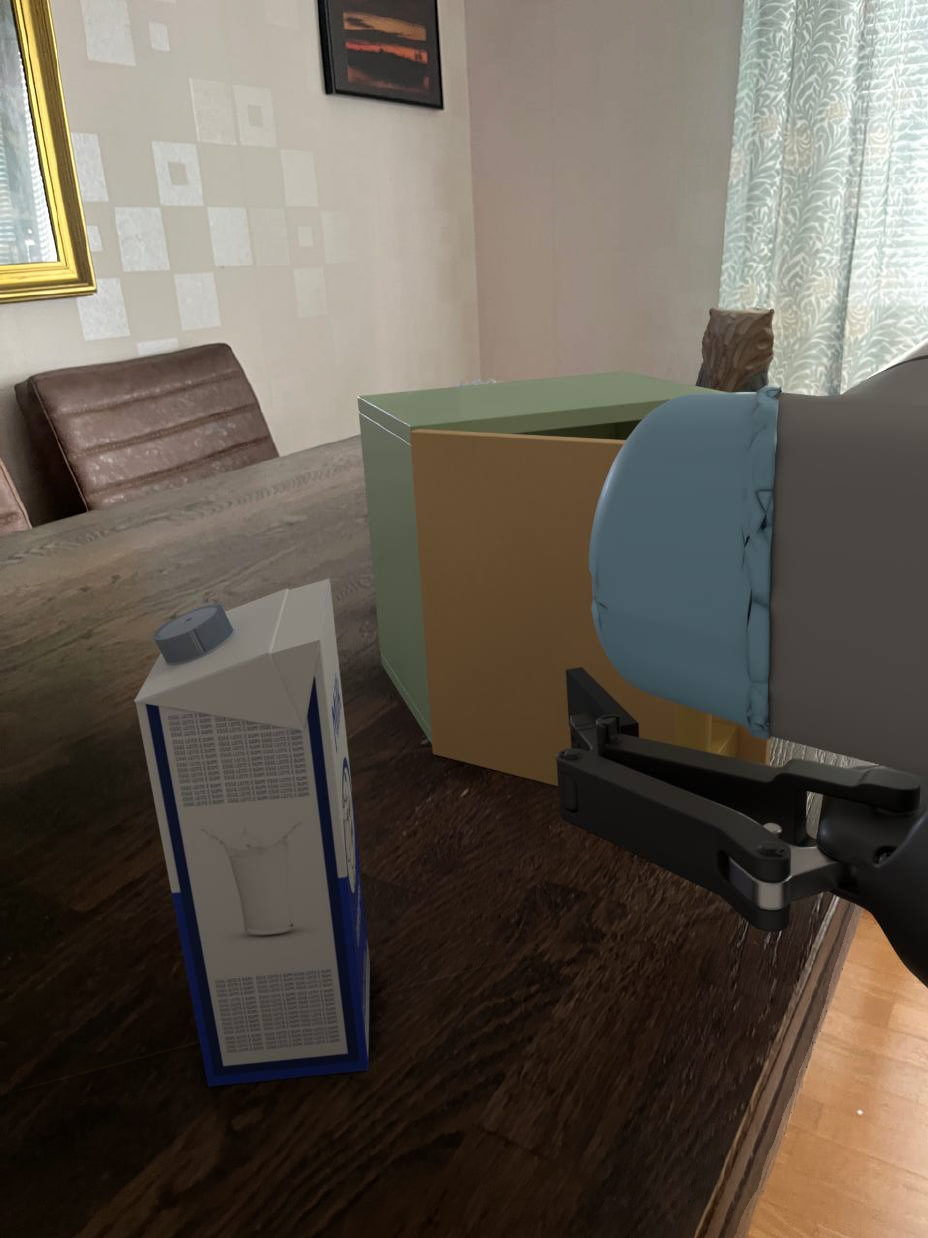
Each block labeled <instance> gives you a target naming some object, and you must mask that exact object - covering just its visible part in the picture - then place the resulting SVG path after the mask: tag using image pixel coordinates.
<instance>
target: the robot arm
mask: <svg viewBox="0 0 928 1238" xmlns="http://www.w3.org/2000/svg"><path fill="white" fill-rule="evenodd" d="M589 571H590V572H591V574H592V591H593V602H592V607H591V610H592V616H593V620H594V625H595V628H596V631H597V635H598V638H599V641H600V643H601V645H602V647H603V649H604V651H605V653H606V656H607V657H608V659H609V660H610V662H611V663H612V665H613V666H614V667H615V669H616V670H617V671H618V673H619V674H620V675H621V676H622V677H623V678H625V679H626V680H627V681H628V682H629V683H630V684H632V685H633V686H634V687H636V688H638V689H640V690H642V691H644V692H646V693H648V694H650V695H653V696H656V697H659V698H662V699H665V700H668V701H671V702H674V703H677V704H680V705H683V706H686V707H689V708H692V709H695V710H698V711H701V712H704V713H707V714H710V715H713V716H716V717H719V718H722V719H725V720H728V721H731V722H734V723H737V724H740V725H743V726H745V727H746V729H747V730H748V731H749V732H750V733H751V734H752V735H753V736H754V737H758V738H763V739H768V740H770V738H771V739H772V738H775V739H779V740H783V741H787V742H791V743H794V744H799V745H801V746H802V745H803V746H806V747H809V748H812V749H813V748H814V749H817V750H821V751H825V752H828V753H832V754H835V755H840V756H844V757H848V758H852V759H854V760H855V759H856V760H858V761H863V762H867V763H871V764H872V765H871V764H870V765H855V766H850V767H845V766H839V765H835V764H829V763H825V762H820V761H815V760H811V759H805V758H800V757H793V758H790V759H789V760H788V761H787V762H786V763H785V764H784V765H783V766H775V765H771V764H770V765H766V764H761V763H756V762H752V761H747V760H742V759H738V758H733V757H728V756H723V755H719V754H714V753H709V752H705V751H700V750H695V749H691V748H686V747H681V746H677V745H672V744H667V743H663V742H658V741H653V740H649V739H644V738H639V723H638V722H637V721H636V720H635V719H634V718H633V717H632V716H631V715H630V714H629V713H628V712H627V711H626V710H625V709H624V708H623V707H622V706H621V705H620V704H619V703H618V702H617V701H616V700H615V699H614V698H613V697H612V696H611V695H610V694H609V693H608V692H607V691H606V690H605V689H604V688H603V687H602V686H601V685H600V684H598V683H597V682H596V681H595V680H594V679H593V678H592V677H591V676H590V675H589V674H588V673H587V672H586V671H585V670H584V669H583V668H582V667H579V668H573V669H567V670H566V684H567V702H568V719H569V726H570V735H571V749H565V750H562V751H560V752H559V753H557V755H556V762H557V778H558V786H557V791H558V810H559V816H560V818H561V819H562V820H563V821H565V822H567V823H569V824H571V825H573V826H575V827H577V828H579V829H581V830H583V831H586V832H587V833H589V834H592V835H593V836H596V837H598V838H600V839H602V840H603V841H606V842H608V843H610V844H612V845H614V846H616V847H619V848H621V849H623V850H625V851H627V852H629V853H631V854H632V855H634V856H637V857H638V858H641V859H643V860H645V861H647V862H650V863H651V864H653V865H655V866H658V867H660V868H661V869H664V870H666V871H668V872H670V873H671V874H674V875H676V876H678V877H680V878H682V879H684V880H686V881H688V882H691V883H692V884H694V885H697V886H698V887H701V888H703V889H705V890H707V891H708V892H711V893H713V894H715V895H717V896H719V897H720V898H721V899H722V900H724V901H725V902H726V903H727V905H729V906H730V907H731V908H732V909H734V910H735V911H736V912H737V913H738V914H739V915H740V916H741V917H742V918H743V919H744V920H745V921H746V922H748V923H749V924H750V925H751V926H752V927H754V928H755V929H757V930H759V931H762V932H768V933H777V932H782V931H784V930H785V929H788V927H789V926H790V924H791V903H794V902H796V901H800V900H803V899H806V898H810V897H812V896H816V895H819V894H822V893H825V892H829V893H831V894H832V895H833V896H835V897H838V898H839V899H842V900H844V901H847V902H849V903H851V904H854V905H856V906H858V907H860V908H862V909H864V910H866V911H867V912H869V913H870V915H871V916H872V917H873V919H874V920H875V921H876V923H877V924H878V926H879V928H880V929H881V930H882V932H883V934H884V936H885V937H886V939H887V941H888V943H889V944H890V946H891V948H892V949H893V951H894V952H895V954H896V955H897V957H898V959H899V960H900V961H901V963H902V964H903V966H904V967H905V968H906V969H907V970H908V971H909V972H910V973H911V975H913V976H914V977H915V978H916V979H917V981H919V982H920V983H921V984H922V985H923V986H924V987H926V988H927V989H928V337H927V338H926V339H924V340H922V341H921V342H919V343H918V344H916V345H915V346H913V347H912V348H910V349H909V350H907V351H906V352H904V353H902V354H901V355H899V356H898V357H897V358H895V359H893V360H892V361H891V362H889V363H887V364H886V365H885V366H883V367H882V368H880V369H878V370H877V371H875V372H874V373H872V374H870V375H869V376H868V377H866V378H865V379H863V380H862V381H860V382H859V383H858V384H856V385H854V386H852V387H850V388H849V389H847V390H846V391H844V392H843V393H839V394H834V395H815V394H814V395H813V394H805V393H803V394H802V393H793V392H783V388H782V386H769V385H768V386H765V387H763V388H761V389H760V390H758V391H756V392H738V393H702V394H688V395H684V396H680V397H677V398H674V399H670V400H669V401H667V402H665V403H663V404H662V405H660V406H658V407H657V408H655V409H654V410H653V411H651V412H650V413H649V414H648V415H647V416H646V417H645V418H644V419H643V420H642V421H641V422H640V423H639V424H638V425H637V427H636V428H635V429H634V430H633V432H632V433H631V434H630V436H629V437H628V438H627V440H626V441H625V443H624V444H623V446H622V448H621V450H620V451H619V453H618V455H617V457H616V458H615V460H614V462H613V464H612V466H611V468H610V471H609V473H608V475H607V478H606V480H605V483H604V485H603V488H602V492H601V495H600V498H599V501H598V505H597V509H596V513H595V517H594V521H593V527H592V533H591V540H590V550H589ZM808 793H813V794H817V795H822V797H821V798H822V799H821V805H820V812H819V818H818V824H817V825H818V826H817V832H816V838H814V837H813V836H810V834H809V833H808V831H807V812H808V811H807V809H808Z"/></svg>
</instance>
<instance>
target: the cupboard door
mask: <svg viewBox="0 0 928 1238" xmlns="http://www.w3.org/2000/svg"><path fill="white" fill-rule="evenodd" d="M625 441H626V440H612V439H593V438H575V437H556V436H538V435H519V434H501V433H482V432H464V431H445V430H427V429H417V430H414V431H411V432H410V443H411V457H412V471H413V485H414V499H415V513H416V526H417V540H418V554H419V568H420V582H421V596H422V610H423V624H424V638H425V651H426V665H427V679H428V693H429V707H430V721H431V735H432V744H431V745H432V746H431V747H432V749H431V750H432V754H433V755H434V756H439V757H442V758H447V759H450V760H455V761H459V762H463V763H466V764H470V765H473V766H478V767H482V768H484V769H489V770H492V771H497V772H502V773H505V774H507V775H512V776H517V777H520V778H523V779H528V780H530V781H531V780H532V781H535V782H539V783H544V784H547V785H551V786H555V787H558V778H557V762H556V755H557V753H559V752H560V751H562V750H565V749H571V735H570V726H569V719H568V702H567V684H566V670H567V669H573V668H579V667H582V668H583V669H584V670H585V671H586V672H587V673H588V674H589V675H590V676H591V677H592V678H593V679H594V680H595V681H596V682H597V683H598V684H600V685H601V686H602V687H603V688H604V689H605V690H606V691H607V692H608V693H609V694H610V695H611V696H612V697H613V698H614V699H615V700H616V701H617V702H618V703H619V704H620V705H621V706H622V707H623V708H624V709H625V710H626V711H627V712H628V713H629V714H630V715H631V716H632V717H633V718H634V719H635V720H636V721H637V722H638V723H639V738H644V739H649V740H653V741H658V742H663V743H667V744H672V745H677V746H681V747H686V748H691V749H695V750H700V751H705V752H709V753H714V754H719V755H723V756H728V757H733V758H738V759H742V760H747V761H752V762H756V763H761V764H766V765H770V766H771V764H770V763H771V751H772V737H771V738H770V740H768V739H763V738H758V737H754V736H753V735H752V734H751V733H750V732H749V731H748V730H747V729H746V727H745V726H743V725H740V724H737V723H734V722H731V721H728V720H725V719H722V718H719V717H716V716H713V715H710V714H707V713H704V712H701V711H698V710H695V709H692V708H689V707H686V706H683V705H680V704H677V703H674V702H671V701H668V700H665V699H662V698H659V697H656V696H653V695H650V694H648V693H646V692H644V691H642V690H640V689H638V688H636V687H634V686H633V685H632V684H630V683H629V682H628V681H627V680H626V679H625V678H623V677H622V676H621V675H620V674H619V673H618V671H617V670H616V669H615V667H614V666H613V665H612V663H611V662H610V660H609V659H608V657H607V656H606V653H605V651H604V649H603V647H602V645H601V643H600V641H599V638H598V635H597V631H596V628H595V625H594V620H593V616H592V610H591V607H592V602H593V591H592V574H591V572H590V571H589V550H590V540H591V533H592V527H593V521H594V517H595V513H596V509H597V505H598V501H599V498H600V495H601V492H602V488H603V485H604V483H605V480H606V478H607V475H608V473H609V471H610V468H611V466H612V464H613V462H614V460H615V458H616V457H617V455H618V453H619V451H620V450H621V448H622V446H623V444H624V443H625Z"/></svg>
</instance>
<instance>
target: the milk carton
mask: <svg viewBox="0 0 928 1238" xmlns="http://www.w3.org/2000/svg"><path fill="white" fill-rule="evenodd" d="M333 605H334V604H333V595H332V586H331V578H326V579H322V580H319V581H316V582H313V583H309V584H305V585H303V586H298V587H295V588H291V589H289V588H288V587H287V588H284V589H281V590H279V591H277V592H273V593H271V594H268V595H265V596H263V597H260V598H258V599H254V600H252V601H249V602H247V603H243V604H241V605H238V606H236V607H234V608H231V609H228V610H225V609H224V608H223V605H222V604H221V603H209V604H206V605H201V606H199V607H197V608H193V609H190V611H186V612H183V613H181V615H179V616H178V615H177V617H176V616H175V617H174V618H172V619H170V620H168V621H167V622H165V623H164V624H163V625H161V626H160V627H158V628H157V629H156V631H155V632H154V633H153V635H152V638H153V640H154V642H155V644H156V646H157V647H158V649H159V651H160V654H159V656H158V657H157V659H156V661H155V663H154V664H153V666H152V668H151V670H150V672H149V674H148V675H147V677H146V679H145V681H144V682H143V684H142V686H141V688H140V689H139V691H138V693H137V695H136V697H135V698H134V700H133V702H134V703H135V706H136V711H137V716H138V722H139V728H140V733H141V738H142V744H143V748H144V754H145V759H146V765H147V770H148V775H149V779H150V780H149V781H150V785H151V791H152V796H153V802H154V806H155V807H154V808H155V812H156V817H157V823H158V827H159V833H160V839H161V843H162V849H163V854H164V860H165V865H166V870H167V875H168V880H169V886H170V887H169V888H170V892H171V897H172V902H173V907H174V913H175V918H176V923H177V928H178V933H179V939H180V944H181V950H182V955H183V960H184V966H185V971H186V975H187V981H188V986H189V992H190V997H191V1002H192V1007H193V1013H194V1018H195V1023H196V1029H197V1034H198V1039H199V1045H200V1050H201V1056H202V1060H203V1066H204V1071H205V1076H206V1081H207V1087H209V1088H211V1087H218V1086H220V1087H221V1086H231V1085H240V1084H251V1083H259V1082H269V1081H270V1082H271V1081H278V1080H279V1081H280V1080H289V1079H298V1078H308V1077H309V1078H310V1077H317V1076H318V1077H319V1076H329V1075H338V1074H348V1073H357V1072H367V1071H369V1067H370V1066H369V1065H370V1063H369V1061H370V1059H369V1058H370V1055H369V1054H370V1002H371V1001H370V999H371V996H370V995H371V993H370V992H371V956H370V947H369V938H368V928H367V919H366V909H365V901H364V891H363V882H362V873H361V863H360V853H359V841H358V835H357V833H358V832H357V824H356V814H355V805H354V796H353V788H352V787H353V786H352V777H351V768H350V767H351V765H350V758H349V748H348V739H347V730H346V720H345V711H344V702H343V700H344V699H343V690H342V682H341V671H340V662H339V653H338V652H339V651H338V644H337V635H336V625H335V615H334V607H333Z"/></svg>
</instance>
